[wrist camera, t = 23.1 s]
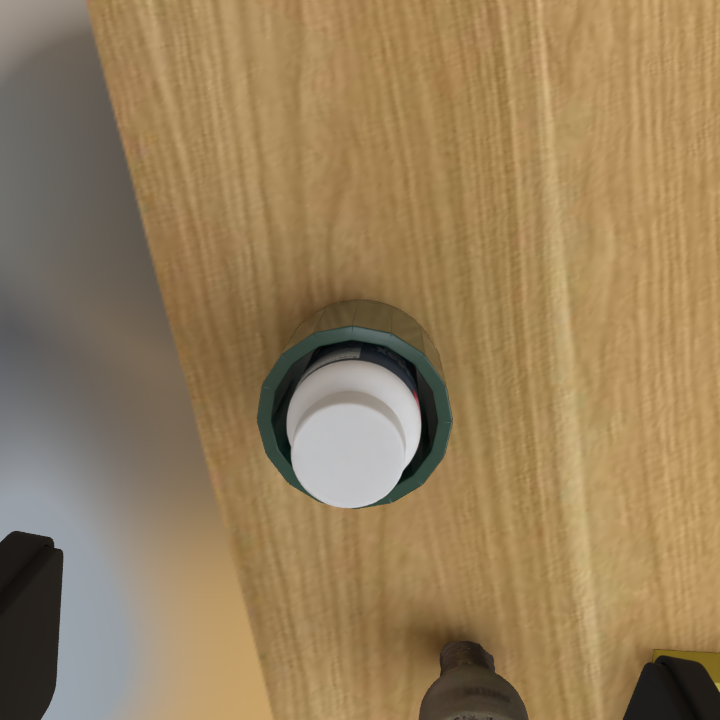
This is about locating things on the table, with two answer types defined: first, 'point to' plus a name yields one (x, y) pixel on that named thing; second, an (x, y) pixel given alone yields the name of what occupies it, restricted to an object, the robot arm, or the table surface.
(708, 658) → the flat olive board
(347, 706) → the table surface
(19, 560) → the robot arm
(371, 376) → the pill bottle
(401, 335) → the cup
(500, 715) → the light bulb
